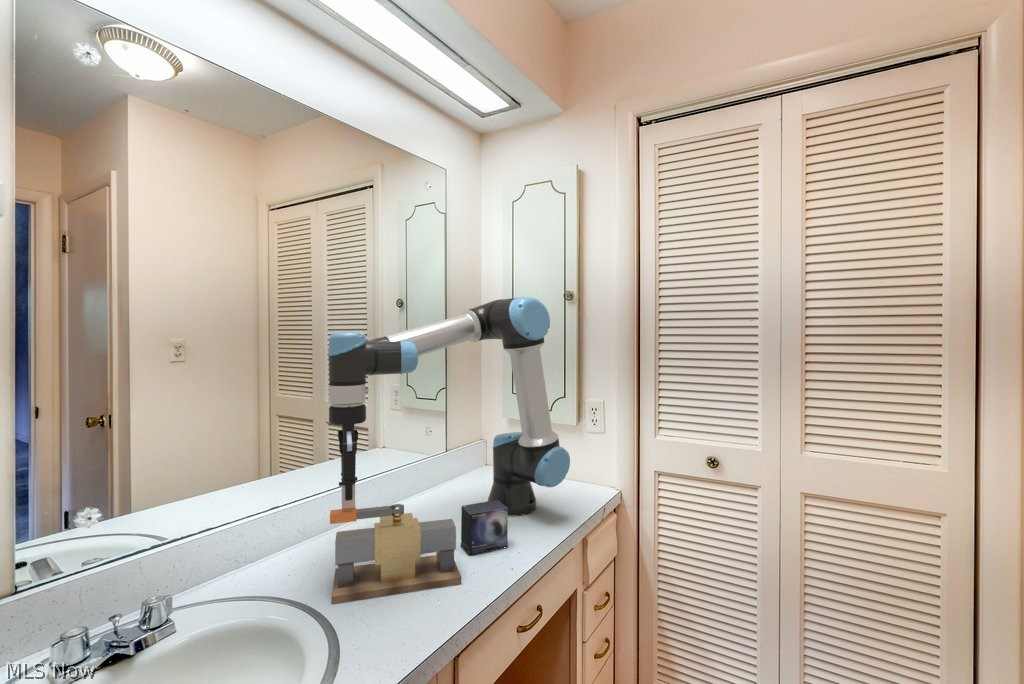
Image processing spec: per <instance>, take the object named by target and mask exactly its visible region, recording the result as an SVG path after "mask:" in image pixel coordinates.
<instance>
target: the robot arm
mask: <svg viewBox="0 0 1024 684" xmlns="http://www.w3.org/2000/svg"><path fill="white" fill-rule="evenodd" d="M550 326H551V317H550V313H549V311H548V308H547V307H546V305H544V304H543V302H542V301H540V300H539V299H538V298H535V297H530V296H517V297H512V298H505V299H503V298H502V299H496V300H493V301H489V302H486V303H483V304H480V305H478V306H475V307H472V308H469V309H465V310H464V311H463V312H462V313H461V315H457V316H453V317H450V318H447V319H443V320H442V319H441V320H439V321H435V322H430V323H428V324H425V325H420V326H417V327H413V328H409V329H405V330H402V331H398V332H396V333H390V334H388V335H384V336H382V337H376V338H373V339H370V340H369V339H368V340H367V338H366V334H365V333H364V332H334V333H332V334H330V336H329V340H328V353H327V357H328V403H329V404H330V406H329V408H328V422H329V423H330V424H331V425H335V426H341V430H337V438H338V444H339V447H338V448H339V453H340V457H341V458H340V460H341V461H340V462H341V464H340V465H341V467H340V469H341V471H340V476H341V478H340V480H341V481H340V482H338V487H341V509H347V508H356V482H357V481H358V476H356V470H357V469H356V467H357V466H356V461H357V459H356V458H357V456H356V455H357V451H358V440H359V431H358V429H355V425H357V424H362V423H365V421H367V407H366V406H367V405H366V404H364V403H365V402H366V401H367V399H366V398H367V397H366V395H367V394H366V393H368V392H369V390H370V389H369V388H368V387H366V385H367V376H377V375H379V376H380V375H381V376H382V375H402V374H411V373H413V372H414V371H415V370H416V369H417V367H418V364H419V357H420V356H424V355H426V354H429V353H433V352H436V351H440V350H442V349H446V348H450V347H453V346H456V345H459V344H461V343H466V342H468V341H470V342H471V343H477V342H480V341H483V340H484V341H485V340H501V341H502V346H503V347H502V349H503V350H504V351H505V352H507V353H508V354H509V356H510V357H509V358H510V364H511V368H512V375H513V376H512V377H513V382H514V388H515V389H514V390H515V395H516V402H517V409H518V415H519V419H520V420H519V421H520V428H521V431H513V432H507V433H506V432H505V433H500V434H496V435H495V436H494V437H493V443H492V444H493V445H492V459H493V461H492V463H493V464H492V466H493V467H492V471H493V472H492V475H493V477H492V478H493V479H492V480H493V481H492V486H491V488H490V490H489V491H490V492H489V496H488V498H487V502H488V501H493V500H499V501H500V502H501V503H503V504H504V505H505V506H507V507H508V515H516V516H523V515H522V514H524V515H527V514H526V513H528V514H530V513H529V512H531V513H533V512H534V511H535V510H536V509H537V498H536V495H535V493H534V492H535V491H534V489H533V485H532V483H534V484H536V485H537V486H540V487H546V488H554V487H557V486H558V485H560V484H561V483H562V482H563V481H564V480H565V478H566V477H567V475H568V472H569V470H570V466H571V457H570V453H569V451H568V450H566V449H565V448H564V447H562V446H561V444H560V441H559V440H560V439H559V434H557V432H555V431H554V430H553V429H552V422H551V413H550V408H549V402H548V401H549V400H548V394H547V387H546V381H545V376H544V375H545V374H544V368H543V360H542V354H541V353H542V351H541V349H542V347H543V346H544V345H545V337H546V335H547V334H548V332H549V329H550ZM532 511H533V512H532Z"/></svg>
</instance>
